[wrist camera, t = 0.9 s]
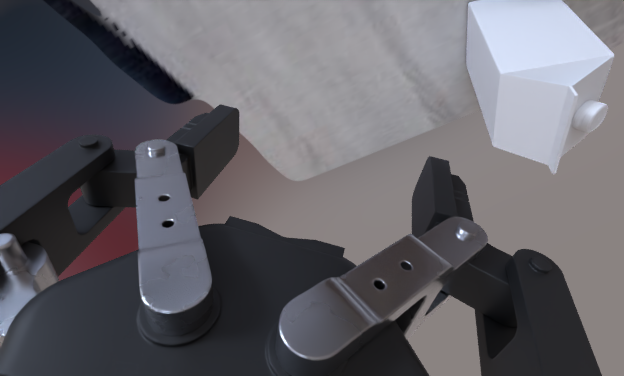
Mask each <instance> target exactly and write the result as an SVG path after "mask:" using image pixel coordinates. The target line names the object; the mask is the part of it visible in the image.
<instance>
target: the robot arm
mask: <svg viewBox="0 0 624 376" xmlns="http://www.w3.org/2000/svg"><path fill="white" fill-rule="evenodd" d="M238 145H239V110H238V109H237V108H233V107H228V106H224V105H219V106H217V107H216V108H215V109H214V110H213V111H211V112H210V113H204V114H201V115H198V116H196V117H194V118H193V119H192V120H191V121H189V123H187V124H186V125H184V126H183V128H180V130H178V131H177V132H175V133H174V134H173V135H172V136H170V137H169V138H168V139H167V140H159V139H158V140H149V141H145V142H143V143H141V144H139V145H138V146H137V147H136V148H135V151H130V150H114V148H113V144H112V141H111V139H109V138H108V137H106V136H102V135H85V136H80V137H77V138H75V139H72V140H71V141H69V142H67V143H66V144H65V145H63V146H61V147H60V148H58V149H57V150H55V151H53V152H52V153H51V154H49V155H47V156H46V157H44V158H42V159H41V160H39V161H38V162H36V163H35V164H33V165H31V166H30V167H28V168H27V169H25V170H24V171H22V172H21V173H19V174H17V175H16V176H14V177H13V178H11V179H10V180H8V181H6V182H5V183H3V184H2V185H0V376H429V374H428V373H427V371H426V369H425V368H424V366H423V365H422V363H421V361H420V360H419V358H418V357H417V355H416V353H415V352H414V350H413V349H412V347H411V345H410V344H409V342H408V339H409V338H410V337H411V335H412V334H413V333H414V332H415V330H416V329H417V328H418V327H419V326H420V325H421V324H422V323H423V322H424V321H425V320H426V319H427V318H428V317H429V316H431V315H432V314H433V313H434V312H435V311H436V310H437V309H438V308H439V307H441V306H442V305H443V304H444V303H445V302H446V301H447V300H448V299H449V298H451V296H453V297H454V298H456V299H458V300H460V301H462V302H463V303H465V304H467V305H469V306H470V307H472V308H474V309H475V316H476V326H477V336H478V345H479V356H480V366H481V375H482V376H602V375H601V372H600V369H599V367H598V364H597V362H596V359H595V356H594V354H593V351H592V349H591V346H590V343H589V341H588V338H587V335H586V333H585V330H584V328H583V325H582V322H581V320H580V317H579V315H578V312H577V309H576V307H575V304H574V302H573V299H572V296H571V294H570V291H569V289H568V286H567V283H566V281H565V278H564V275H563V273H562V271H561V270H560V268H559V267H558V266H557V265H556V264H555V263H554V262H553V261H552V260H551V259H549V258H548V257H546V256H545V255H543V254H541V253H539V252H536V251H533V250H529V249H521V250H518V251H517V252H516V253H515V254H514V255H513V256H511V255H509V254H507V253H505V252H503V251H501V250H498V249H496V248H495V247H493V246H491V245H490V244H488V243H487V242H488V237H487V234H486V233H485V231H484V230H483V229H482V228H481V227H480V226H479V225H477V224H476V223H474V221H473V217H472V212H471V208H470V204H469V202H468V201H469V199H468V195H467V190H466V185H465V184H464V183H463V181H462V180H461V179H460V177H459V176H456V175H452V174H451V172H450V166H449V161H447V160H443V159H439V158H435V157H428V159H427V161H426V163H425V166H424V168H423V170H422V173H421V175H420V177H419V180H418V182H417V185H416V187H415V190H414V193H413V197H412V234H409V235H407V236H405V237H403V238H402V239H400V240H399V241H397V242H395V243H394V244H392V245H390V246H389V247H387V248H386V249H384V250H382V251H381V252H379V253H378V254H376V255H374V256H373V257H371V258H370V259H368V260H366V261H365V262H363V263H362V264H360V265H358V266H356V265H355V264H354V263H352V262H351V261H349V260H347V259H346V258H344V257H343V253H344V249H345V248H342V247H339V246H335V245H331V244H328V243H324V242H321V241H317V240H308V239H297V238H286V237H282V236H280V235H278V234H276V233H274V232H272V231H271V230H269V229H266V228H265V227H263V226H261V225H259V224H256V223H253V222H249V221H246V220H242V219H239V218H235V217H231V216H230V217H229V218H228V220H227V221H226V223H225V224H208V225H203V226H198V224H197V219H196V215H195V211H194V207H193V203H192V199H191V197H192V198H195V199H198V198H199V197H200V196H201V195H202V194H203V192H204V191H205V190H206V189H207V188H208V186H209V185H210V184H211V183H212V182H213V181H214V179H215V178H216V177H217V176H218V174H219V173H220V172H221V171H222V170H223V169H224V167H225V166H226V165H227V164H228V163H229V161H230V160H231V159H232V158H233V157H234V155H235V153H236V152H237V149H238ZM78 188H80V189H81V192H82V194H83V195H82V196H81V197H80V198H79V199H77V200H76V201H75V202H74V203H73V204H71V205H70V206H69V207H68V200H69V198H70V196H71V195H72V193H73V192H75V191H76V190H77V189H78ZM125 207H136V210H137V227H138V243H139V250H136V251H134V252H131V253H129V254H127V255H124V256H121V257H119V258H116V259H114V260H111V261H108V262H106V263H104V264H101V265H98V266H96V267H93V268H91V269H88V270H86V271H83V272H81V273H78V274H76V275H73V276H71V277H68V278H66V279H63V280H61V281H59V282H58V280H59V279H58V276H59V275H60V274H61V273H62V272H63V271H64V270H65V269H66V268H67V267H68V266H69V265H70V264H71V263H72V262H73V261H74V260H75V259H76V257H78V256H79V255H80V254H81V252H83V251H84V249H85V248H86V247H87V246H88V245H89V244H90V243H91V242H92V241H93V240H94V239H95V238H96V237H97V236H98V235H99V234H100V233H101V232H102V231H103V230H104V229H105V228H106V227H107V226H108V225H109V224H110V223H111V222H112V221H113V220H114V219H115V217H116V216H117V215H118V214H119V213H120V212H121V211H122V210H123V209H124V208H125Z"/></svg>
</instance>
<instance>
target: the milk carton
mask: <svg viewBox="0 0 624 376" xmlns="http://www.w3.org/2000/svg"><path fill="white" fill-rule="evenodd" d="M613 59H614V54H613V53H612V51H611V50H610V49H609V48H608V47H607V46H606V45H605V44H604V43H603V42H602V41H601V40H600V39H599V38H598V37H597V36H596V35H595V34H594V33H593V32H592V31H591V30H590V29H589V28H588V27H587V26H586V25H585V23H584V22H583V21H582V20H581V19H580V18H579V17H578V16H577V15H576V14H575V13H574V12H573V11H572V10H571V9H570V8H569V7H568V6H567V5H566V4H565V3H564V2H563V1H562V0H477V1H473V2H469V4H468V22H467V51H466V65H467V68H468V71H469V75H470V78H471V81H472V84H473V87H474V90H475V93H476V96H477V99H478V102H479V105H480V108H481V111H482V114H483V117H484V121H485V123H486V126H487V129H488V133H489V136H490V139H491V142H492V145H493V147H496V148H499V149H502V150H505V151H508V152H511V153H514V154H517V155H520V156H523V157H526V158H529V159H531V160H535V161H537V162H540V163H543V164H546V165H548V166H549V168H550V170H551V172H552V174H555V173H556V171H557V167H558V164H559V161H560V157H561V156H562V155H564V154H565V153H566V152H567V151H569V150H570V149H571V148H573V147H574V146H575V145H577V144H578V143H579V142H580V141H582V140H583V139H584V138H585V137H586V136H587V134H588V133H590V132H592V131H594V130H595V129H596V128H597V127H598V126H599V125H600V124H601V123H602V121H603V120H604V118H605V116H606V114H607V111H608V105H607V104H604V103H601V102H599V100H600V97H601V94H602V91H603V88H604V85H605V83H606V80H607V77H608V74H609V71H610V68H611V65H612V62H613Z"/></svg>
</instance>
